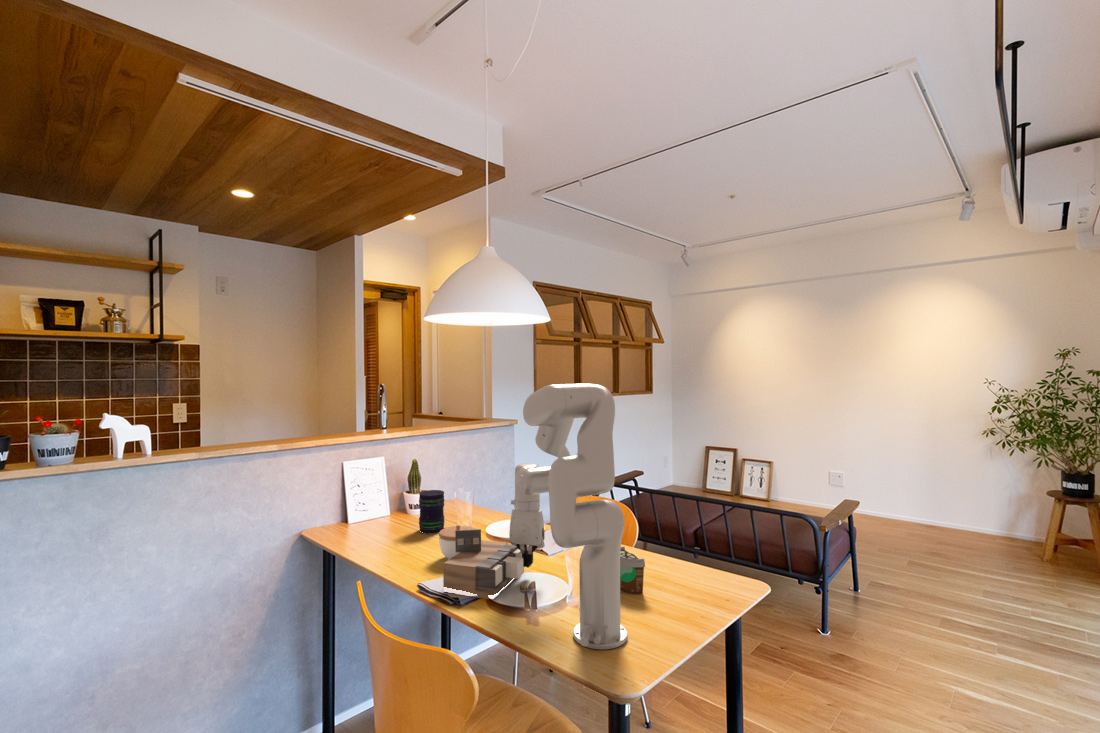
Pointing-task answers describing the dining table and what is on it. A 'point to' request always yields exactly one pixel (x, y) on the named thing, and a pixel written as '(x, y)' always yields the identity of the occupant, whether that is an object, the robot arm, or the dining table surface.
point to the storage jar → (431, 511)
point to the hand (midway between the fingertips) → (527, 565)
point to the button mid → (514, 567)
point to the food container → (631, 573)
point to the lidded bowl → (450, 540)
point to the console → (476, 564)
